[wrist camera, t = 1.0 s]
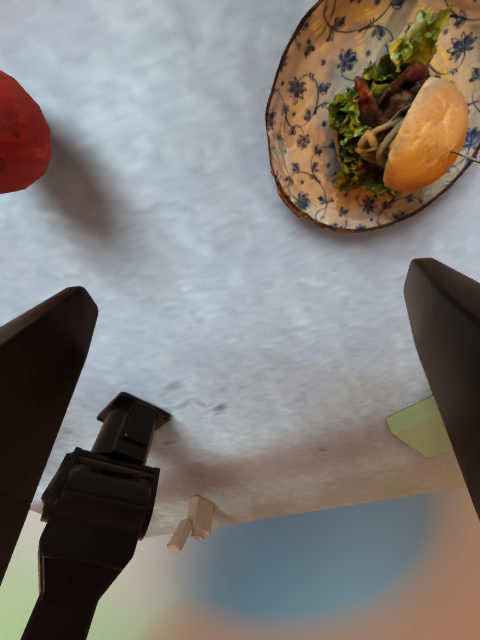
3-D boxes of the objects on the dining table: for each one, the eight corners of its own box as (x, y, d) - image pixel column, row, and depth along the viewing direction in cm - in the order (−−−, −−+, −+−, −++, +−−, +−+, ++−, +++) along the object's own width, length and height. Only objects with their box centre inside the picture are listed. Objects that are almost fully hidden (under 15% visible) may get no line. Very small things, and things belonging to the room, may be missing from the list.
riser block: (420, 442, 37) (427, 458, 35) (385, 417, 34) (391, 434, 32) (484, 417, 33) (496, 433, 32) (451, 386, 30) (462, 403, 29)
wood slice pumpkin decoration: (391, -131, 12) (524, -340, 6) (535, 91, 16) (699, 96, 10) (222, 148, 18) (206, 180, 12) (355, 257, 22) (391, 320, 16)
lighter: (214, 504, 51) (208, 563, 45) (206, 506, 52) (199, 564, 45) (185, 488, 48) (174, 549, 41) (177, 490, 48) (165, 551, 42)
